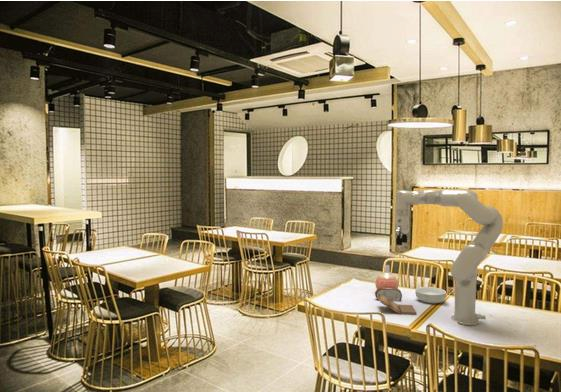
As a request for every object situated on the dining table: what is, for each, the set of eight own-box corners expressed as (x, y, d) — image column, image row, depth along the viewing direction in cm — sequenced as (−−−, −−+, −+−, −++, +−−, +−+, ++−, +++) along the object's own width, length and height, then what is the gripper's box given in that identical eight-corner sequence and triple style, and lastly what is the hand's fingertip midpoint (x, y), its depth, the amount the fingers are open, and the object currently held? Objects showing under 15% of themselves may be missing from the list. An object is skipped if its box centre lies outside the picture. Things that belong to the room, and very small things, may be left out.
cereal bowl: (427, 296, 245) (427, 284, 245) (452, 303, 231) (452, 291, 231) (408, 301, 236) (409, 289, 235) (433, 309, 222) (433, 296, 221)
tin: (401, 301, 234) (401, 287, 234) (402, 303, 231) (402, 289, 231) (374, 300, 236) (375, 286, 235) (375, 302, 233) (375, 288, 232)
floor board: (412, 309, 221) (412, 304, 221) (417, 317, 208) (417, 312, 208) (371, 307, 224) (371, 302, 224) (374, 315, 211) (374, 310, 211)
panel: (396, 306, 222) (397, 304, 222) (399, 314, 210) (401, 311, 210) (378, 295, 223) (379, 293, 223) (380, 302, 211) (382, 300, 211)
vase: (371, 294, 249) (372, 266, 248) (380, 289, 260) (380, 262, 259) (393, 298, 241) (393, 269, 240) (401, 292, 252) (401, 265, 251)
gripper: (405, 214, 212) (403, 246, 213) (413, 212, 227) (412, 242, 228) (391, 213, 216) (389, 245, 217) (400, 211, 231) (399, 240, 232)
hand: (401, 243), depth 223 cm, fingers open, 9 cm apart
